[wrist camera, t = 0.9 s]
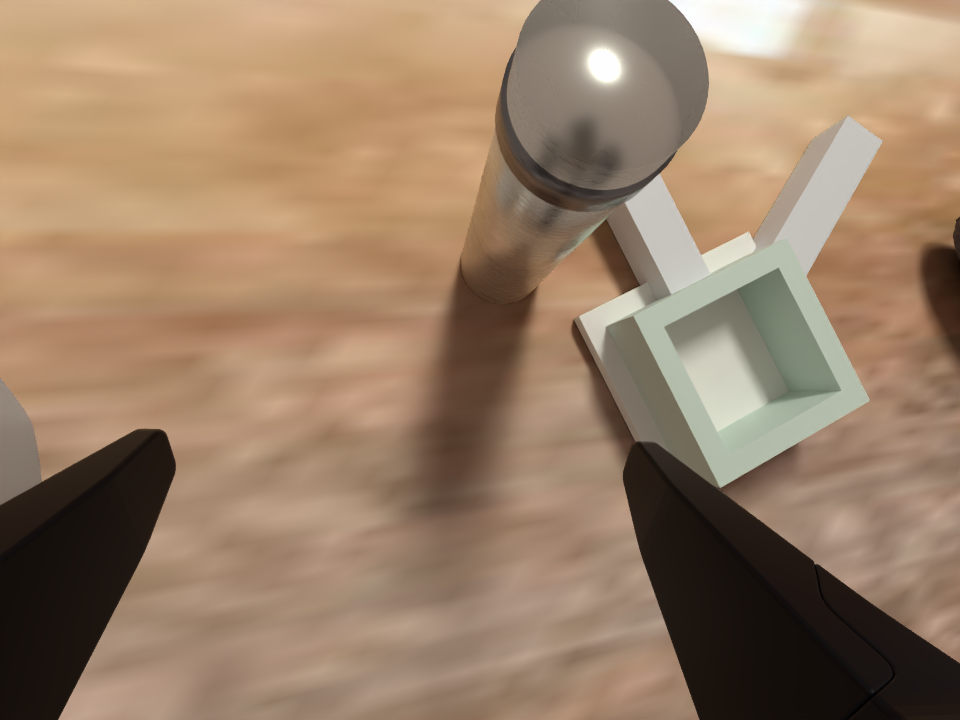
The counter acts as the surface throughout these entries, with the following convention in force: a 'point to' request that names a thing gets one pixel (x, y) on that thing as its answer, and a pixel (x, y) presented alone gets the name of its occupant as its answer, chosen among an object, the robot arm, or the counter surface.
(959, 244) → the perforated stone tool
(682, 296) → the shaft rig
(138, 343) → the counter surface
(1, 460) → the lumpy-topped squat cylinder
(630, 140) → the shiny grey metal cylinder
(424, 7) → the counter surface
